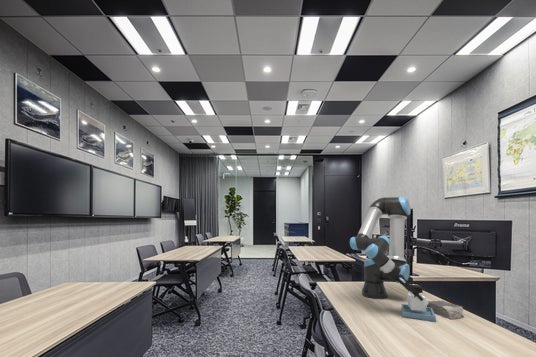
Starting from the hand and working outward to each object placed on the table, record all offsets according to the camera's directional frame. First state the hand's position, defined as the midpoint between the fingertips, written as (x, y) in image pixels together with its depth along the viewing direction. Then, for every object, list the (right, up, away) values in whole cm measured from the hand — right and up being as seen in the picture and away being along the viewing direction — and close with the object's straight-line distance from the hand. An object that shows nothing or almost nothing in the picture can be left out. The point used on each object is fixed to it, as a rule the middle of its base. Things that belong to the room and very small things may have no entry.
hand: (423, 302), depth 149 cm
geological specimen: (+13, -8, +2) cm, 15 cm away
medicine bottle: (-4, -4, 0) cm, 5 cm away
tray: (-3, -7, 0) cm, 7 cm away
